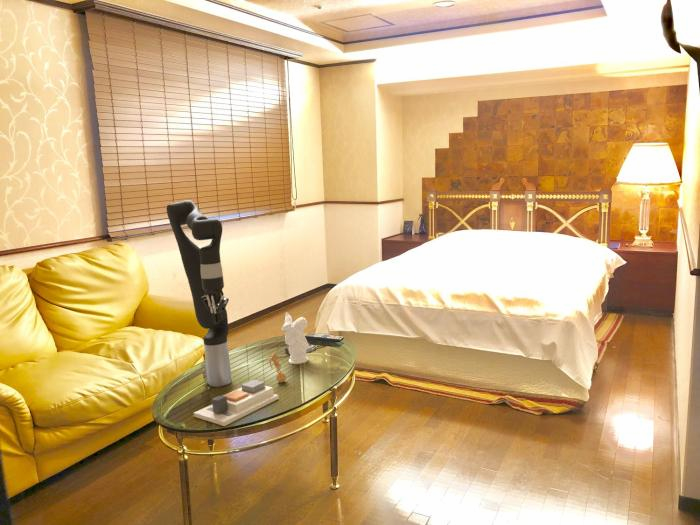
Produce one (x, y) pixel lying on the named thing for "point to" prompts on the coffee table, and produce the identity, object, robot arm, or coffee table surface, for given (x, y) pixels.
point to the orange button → (236, 396)
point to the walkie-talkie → (306, 349)
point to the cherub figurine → (296, 339)
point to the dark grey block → (219, 404)
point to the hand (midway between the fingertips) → (217, 322)
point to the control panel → (238, 407)
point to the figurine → (278, 368)
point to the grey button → (253, 386)
